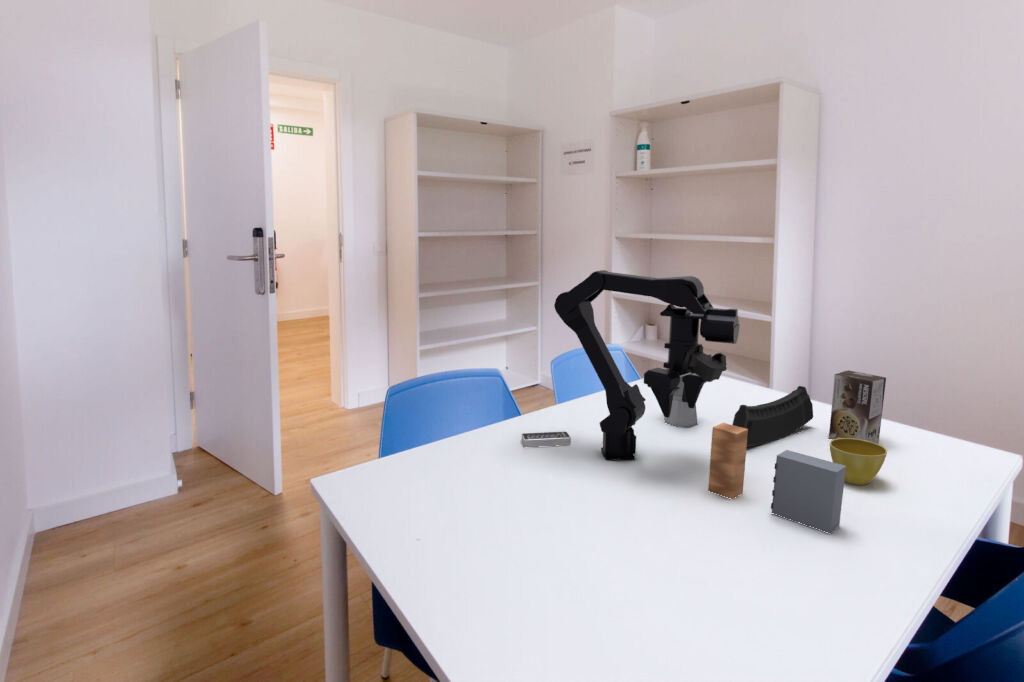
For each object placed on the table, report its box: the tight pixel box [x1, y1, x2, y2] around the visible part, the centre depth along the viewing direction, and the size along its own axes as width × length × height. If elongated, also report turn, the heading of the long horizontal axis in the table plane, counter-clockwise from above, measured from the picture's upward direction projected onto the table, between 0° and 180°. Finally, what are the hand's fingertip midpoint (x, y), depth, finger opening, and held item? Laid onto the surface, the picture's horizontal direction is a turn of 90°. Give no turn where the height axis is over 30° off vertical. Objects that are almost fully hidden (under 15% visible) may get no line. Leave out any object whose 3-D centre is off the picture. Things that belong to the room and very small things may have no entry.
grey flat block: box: [770, 449, 846, 534], centre depth 108 cm, size 10×4×11 cm, turn 43°
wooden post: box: [707, 422, 748, 500], centre depth 119 cm, size 5×4×13 cm
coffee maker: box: [663, 368, 699, 429], centre depth 159 cm, size 15×9×18 cm, turn 172°
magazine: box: [731, 385, 814, 448], centre depth 149 cm, size 17×3×30 cm
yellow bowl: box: [829, 438, 888, 486], centre depth 126 cm, size 10×10×7 cm
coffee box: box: [828, 370, 887, 445], centre depth 147 cm, size 9×6×16 cm
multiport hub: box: [520, 431, 572, 448], centre depth 146 cm, size 4×11×2 cm, turn 99°
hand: (679, 412), depth 130 cm, fingers open, 9 cm apart
